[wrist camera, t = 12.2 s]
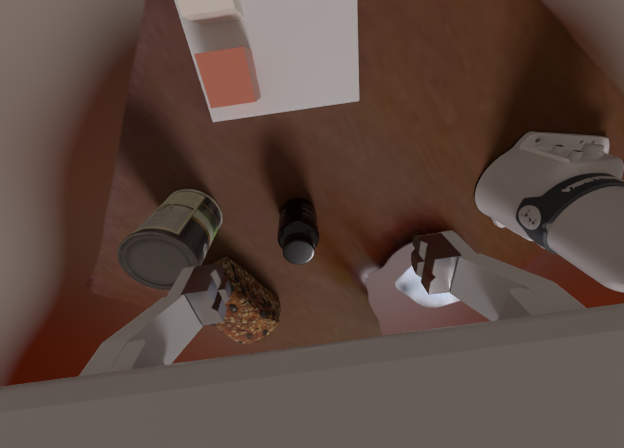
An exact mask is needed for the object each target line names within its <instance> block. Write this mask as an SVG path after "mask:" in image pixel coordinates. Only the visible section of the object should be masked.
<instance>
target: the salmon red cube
mask: <svg viewBox="0 0 624 448" xmlns="http://www.w3.org/2000/svg"><path fill="white" fill-rule="evenodd" d="M194 55H195V59H196V62H197V65H198V68H199V71H200V75H201V78H202V81H203V84H204V87H205V90H206V94H207V97H208V100H209V103H210V106H211V108H217V107H224V106H231V105H238V104H245V103H252V102H256V101H257V100H259V99H260V98H261V94H260V89H259V84H258V80H257V75H256V70H255V65H254V60H253V56H252V51H251V50H250V49H248V48H245V47H237V48H230V49H224V50H217V51H210V52H204V53H197V54H194Z"/></svg>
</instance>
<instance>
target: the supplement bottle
mask: <svg viewBox="0 0 624 448" xmlns="http://www.w3.org/2000/svg"><path fill="white" fill-rule="evenodd" d="M318 241H319V232H318V225H317V218H316V212H315V208H314V207H313V205H312V204H311V203H310V202H309V201H307V200H305V199H300V198H295V199H291V200H289V201H287V202H286V203H285V204H284V205H283V206H282V208H281V210H280V217H279V227H278V243H279V245H280V247H281V248H282V249H283V256H284V258H285V259H286V260H287V261H288V262H290V263H292V264H298V265H299V264H305V263H307V262H309V261H310V260H311V259H312V258H313V256H314V249H315V247H316V246H317V244H318Z"/></svg>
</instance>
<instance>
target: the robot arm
mask: <svg viewBox="0 0 624 448" xmlns="http://www.w3.org/2000/svg"><path fill="white" fill-rule="evenodd" d="M536 139H537V140H536ZM608 152H609V139H608V138H606V137H603V136H595V135H580V134H565V133H549V132H534V131H532V132H528V133H526V134H525V135H524V136H523V137H522V138H521V139H520V140H519V141H518V142H517V143H516V144H515V146H514V147H513V148H512V149H510V150H509V151H508V152H506V153H505V154H503V155H502V156H500V157H499V158H498V159H496V160H495V161H494V162H493V163H492V164H491V165H490V166H489V167H488V168H487V169H486V171H485V172H484V173H483V175H482V176H481V178H480V180H479V182H478V184H477V187H476V191H475V202H476V205H477V207H478V209H479V210H480V211H481V212H482V213H484V214H485V215H487V216H489V217H491V218H492V220H493V222H494V224H495V225H497V226H498V227H500V228H503V227H507V228H508V229H510V230H512V231H514V232H515V233H517V234H519V235H520V236H522V237H524V238H526V239H527V240H530V241H535V242H536V243H537V244H538V245H539V246H541V247H542V248H544V249H546V250H548V251H550V252H551V253H554V254H559V255H560V256H562V257H563V258H565V259H566V260H568V261H569V262H570V263H572V264H573V265H575V266H576V267H578V268H579V269H581V270H582V271H584V272H585V273H586V274H588V275H589V276H591V277H592V278H594V279H595V280H597V281H598V282H599V283H601V284H602V285H604V286H606V287H608V288H610V289H612V290H615V291H619V292H624V182H623V180H621V177H622V174H623V170H624V165H623V161H622V160H621V159H620V158H619V157H616V156H613V155H610V154H608ZM413 246H414V247H415V249H414V250H413V252H412V254H411V262H412V266H413V269H414V271H415V273H416V274H417V275H418V276H420V277H422V279H421V283H422V284H423V286H424V288H425V289H426V291H427V293H428V294H437V293H446V292H450V293H451V294H452V295H454V296H455V297H457V298H458V299H460V300H461V301H463V302H464V303H466V304H467V305H469V306H470V307H472V308H473V309H475V310H476V311H477V312H479V313H480V314H482V315H483V316H485V317H486V318H488V319H489V320H491V321H489V322H482V323H474V324H467V325H460V326H452V327H445V328H437V329H430V330H422V331H415V332H407V333H400V334H392V335H385V336H377V337H370V338H362V339H355V340H347V341H340V342H332V343H325V344H318V345H310V346H303V347H295V348H288V349H281V350H274V351H265V352H258V353H250V354H243V355H236V356H228V357H221V358H213V359H206V360H198V361H191V362H184V363H176V364H171V363H172V362H173V361H174V360H175V359H176V357H177V356H178V355H179V354H180V353H181V351H182V350H183V349H184V348H185V347H186V346H187V344H188V343H189V342H190V341H191V340H192V338H193V337H194V336H195V335H196V334H197V332H198V331H199V330H200V329H201V328H202V326H204V325H210V324H216V323H222V322H223V321H224V317H225V314H226V310H227V308H226V305H225V304H226V303H227V302H228V301H229V300H230V296H231V285H230V281H229V279H228V278H227V277H226V276H224V272H225V269H224V267H223V265H222V264H220V263H218V264H210V265H201V266H194V267H186V268H184V269H182V271H181V273H180V274H179V276H178V278H177V280H176V281H175V283H174V285H173V287H172V288H171V290H170V292H169V294H168V295H167V297H163V298H161V299H160V300H159V301H158V302H156V303H155V304H154V305H152V306H151V307H150V308H148V309H147V310H146V311H144V312H143V313H142V314H140V315H139V316H138V317H136V318H135V319H134V320H132V321H131V322H130V323H128V324H127V325H126V326H124V327H123V328H122V329H120V330H119V331H118V332H117V333H115V334H114V335H112V336H111V337H110V338H108V339H107V340H106V341H104V342H103V343H102V344H101V346H100V347H99V348H98V350H97V351H96V353H95V354H94V355H93V357H92V358H91V360H90V361H89V362H88V364H87V365H86V367H85V368H84V369H83V371H82V372H81V374H80V375H79V377H72V378H64V379H57V380H50V381H43V382H34V383H28V384H20V385H12V386H5V387H0V448H624V304H616V305H609V306H601V307H594V308H585V307H584V306H583V305H582V304H581V303H579V302H578V301H577V300H576V299H574V298H573V297H572V296H571V295H569V294H568V293H567V292H566V291H565V290H563V289H562V288H561V287H559V286H558V285H557V284H556V283H555V282H552V281H550V280H547V279H544V278H542V277H539V276H537V275H534V274H531V273H529V272H527V271H524V270H521V269H519V268H516V267H514V266H511V265H509V264H506V263H503V262H501V261H498V260H496V259H493V258H491V257H488V256H485V255H483V254H476V253H475V252H474V251H473V250H472V249H471V248H470V247H469V246H468V245H467V244H466V243H465V242H464V241H463V240H462V239H461V238H460V237H459V236H458V235H457V234H456V233H455V232H454V231H445V232H439V233H435V234H428V235H421V236H415V237H414V239H413Z"/></svg>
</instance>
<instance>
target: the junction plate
mask: <svg viewBox="0 0 624 448" xmlns="http://www.w3.org/2000/svg"><path fill="white" fill-rule="evenodd" d="M174 1H175V4H176V7H177V10H178V14H179V17H180V20H181V23H182V26H183V29H184V32H185V36H186V39H187V42H188V45H189V48H190V51H191V54H192V58H193V61H194V64H195V67H196V70H197V73H198V76H199V80H200V83H201V86H202V89H203V92H204V95H205V98H206V102H207V105H208V108H209V111H210V114H211V117H212V120H213V122H218V121H225V120H231V119H238V118H245V117H252V116H259V115H266V114H273V113H279V112H286V111H293V110H300V109H307V108H314V107H321V106H328V105H334V104H341V103H348V102H355V101H359V66H358V17H357V0H241V5H242V9H243V14H244V19H238V20H231V21H224V22H218V23H211V24H204V25H199V24H197V23H195V22H193V21H191V20H189V19H187V18H185V17H183V16H182V15H181V12H180V9H179V6H178V2H177V0H174ZM237 47H245V48H248V49H250V50H251V51H252V56H253V60H254V65H255V70H256V75H257V80H258V84H259V89H260V94H261V98H260V99H259V100H257V101H256V102H252V103H245V104H238V105H231V106H224V107H217V108H211V106H210V103H209V100H208V97H207V94H206V90H205V87H204V84H203V81H202V78H201V75H200V71H199V68H198V65H197V62H196V59H195V55H194V54H197V53H204V52H210V51H217V50H224V49H230V48H237Z"/></svg>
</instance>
